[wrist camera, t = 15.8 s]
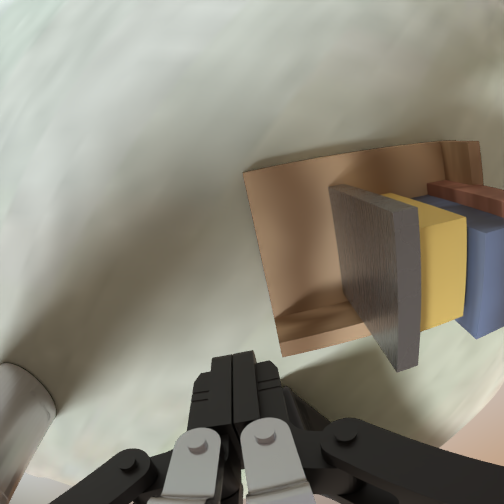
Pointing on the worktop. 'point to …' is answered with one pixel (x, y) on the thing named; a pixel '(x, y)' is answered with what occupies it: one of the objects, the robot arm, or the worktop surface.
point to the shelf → (324, 239)
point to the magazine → (303, 415)
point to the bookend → (381, 268)
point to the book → (440, 262)
